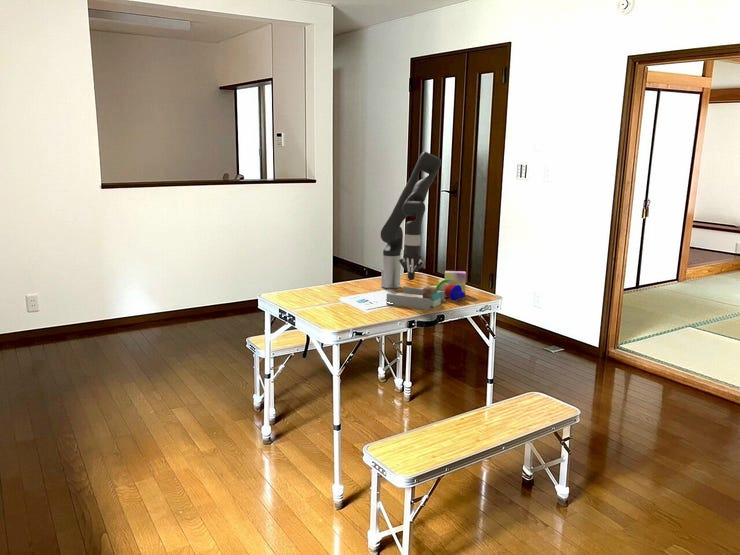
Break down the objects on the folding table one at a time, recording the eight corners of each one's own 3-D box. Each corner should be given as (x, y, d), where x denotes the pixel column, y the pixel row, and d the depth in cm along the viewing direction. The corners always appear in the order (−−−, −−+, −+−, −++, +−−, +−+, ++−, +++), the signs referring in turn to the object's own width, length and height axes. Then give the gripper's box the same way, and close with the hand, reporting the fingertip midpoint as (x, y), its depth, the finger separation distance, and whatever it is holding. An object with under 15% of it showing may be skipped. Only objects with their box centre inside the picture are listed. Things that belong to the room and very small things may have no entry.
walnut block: (422, 299, 292) (422, 288, 291) (426, 296, 296) (427, 286, 295) (432, 300, 290) (432, 289, 289) (436, 298, 294) (436, 287, 293)
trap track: (386, 304, 295) (386, 291, 293) (403, 296, 310) (404, 284, 309) (429, 310, 284) (429, 297, 283) (444, 301, 300) (445, 289, 298)
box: (464, 293, 317) (465, 271, 314) (465, 296, 311) (466, 273, 309) (444, 293, 318) (444, 270, 315) (444, 295, 312) (445, 272, 310)
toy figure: (464, 305, 303) (441, 294, 313) (469, 287, 301) (445, 277, 311) (453, 306, 297) (429, 295, 307) (457, 287, 294) (434, 277, 304)
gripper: (396, 243, 292) (395, 279, 296) (421, 246, 285) (420, 283, 289) (403, 241, 298) (402, 276, 302) (428, 244, 292) (427, 280, 295)
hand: (411, 279), depth 295 cm, fingers closed
